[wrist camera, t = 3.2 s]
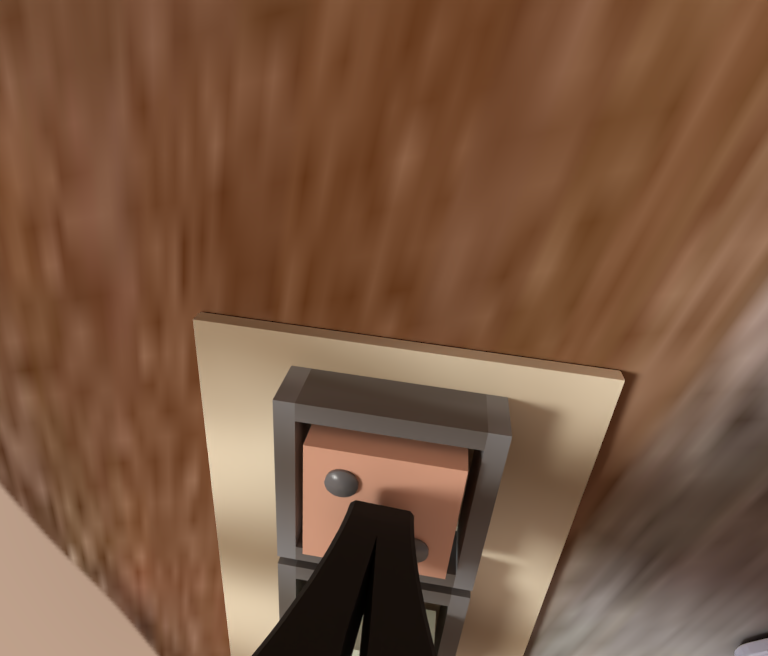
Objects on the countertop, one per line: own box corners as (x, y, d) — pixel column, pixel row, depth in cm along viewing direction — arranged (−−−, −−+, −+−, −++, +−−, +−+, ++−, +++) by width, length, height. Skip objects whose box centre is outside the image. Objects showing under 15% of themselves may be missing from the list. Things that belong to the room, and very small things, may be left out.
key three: (447, 532, 14) (445, 583, 13) (316, 510, 14) (301, 557, 13) (468, 429, 12) (468, 474, 11) (319, 406, 13) (301, 448, 11)
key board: (484, 748, 21) (485, 805, 19) (240, 698, 21) (222, 749, 20) (619, 370, 12) (643, 419, 10) (200, 311, 13) (162, 349, 11)
